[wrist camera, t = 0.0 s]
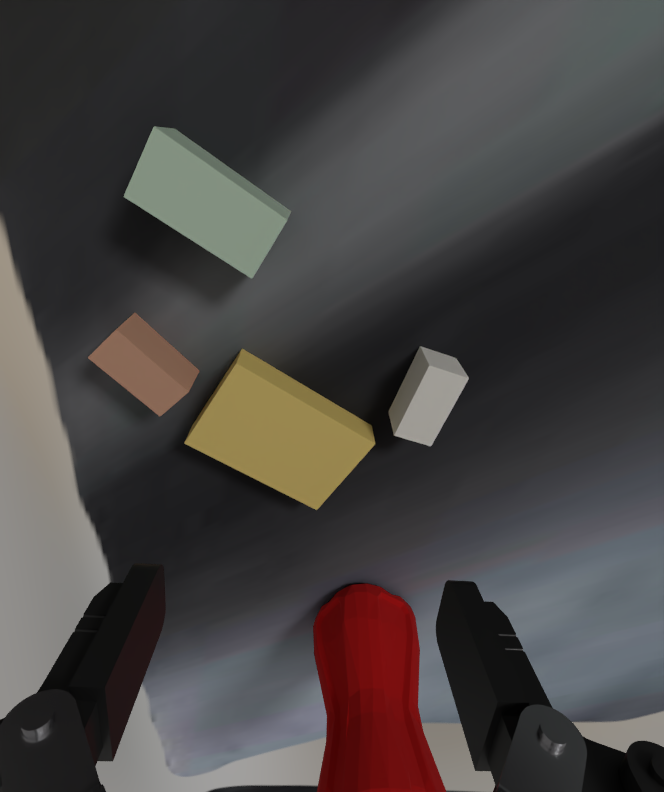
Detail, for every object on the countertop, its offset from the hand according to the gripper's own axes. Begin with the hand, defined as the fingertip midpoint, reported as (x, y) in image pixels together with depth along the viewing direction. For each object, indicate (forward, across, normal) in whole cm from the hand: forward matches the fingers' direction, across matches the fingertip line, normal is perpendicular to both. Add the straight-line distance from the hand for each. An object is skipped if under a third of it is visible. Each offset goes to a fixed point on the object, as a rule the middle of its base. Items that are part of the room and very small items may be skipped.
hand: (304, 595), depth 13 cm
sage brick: (+21, +6, -11) cm, 25 cm away
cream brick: (+23, -9, +1) cm, 25 cm away
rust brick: (+23, +11, 0) cm, 25 cm away
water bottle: (+27, -9, +28) cm, 40 cm away
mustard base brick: (+24, +2, +5) cm, 24 cm away
